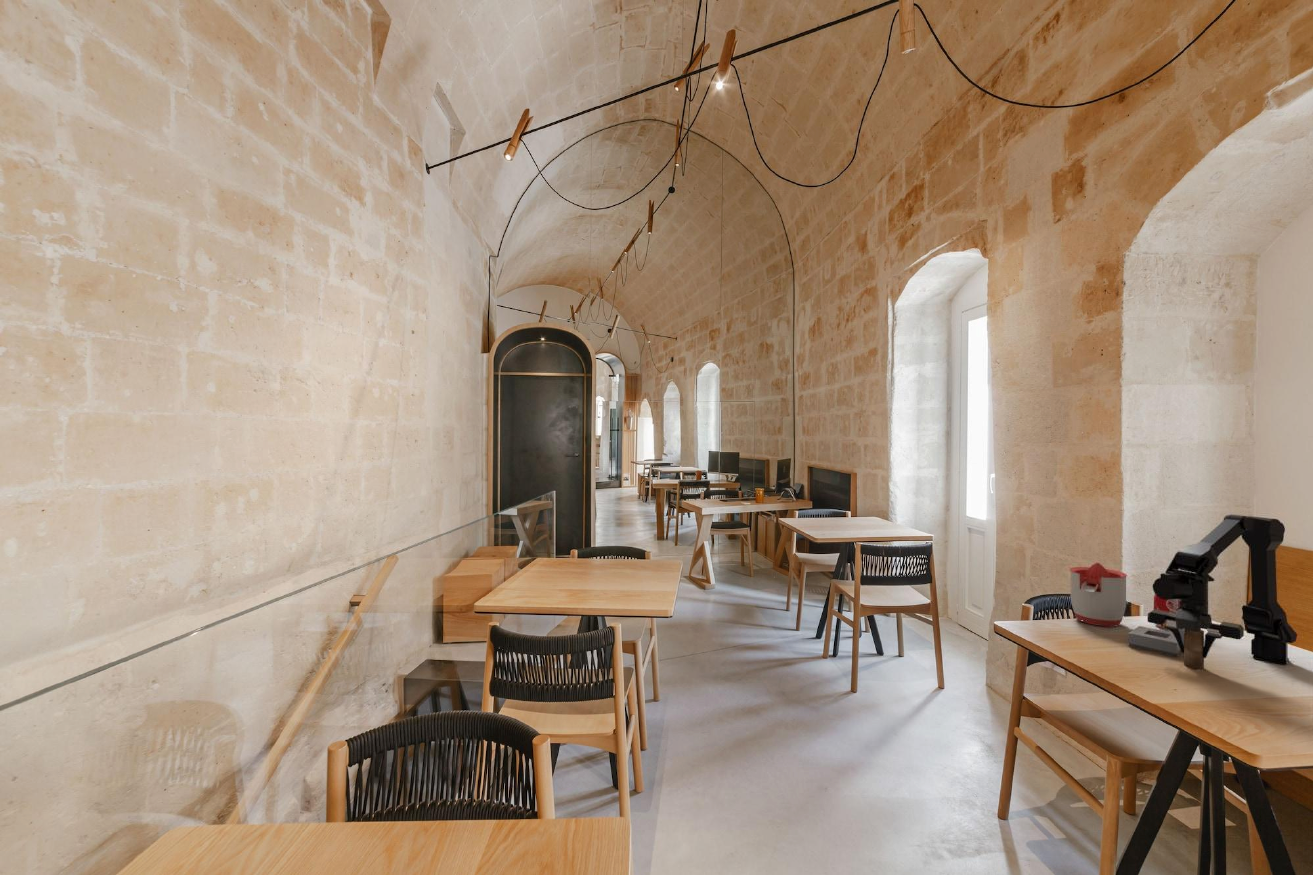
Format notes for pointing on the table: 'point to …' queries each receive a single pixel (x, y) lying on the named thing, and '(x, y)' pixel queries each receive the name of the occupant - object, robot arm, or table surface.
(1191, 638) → the pin
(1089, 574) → the citrus juicer
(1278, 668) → the table surface
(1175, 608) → the soda can
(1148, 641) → the socket block
